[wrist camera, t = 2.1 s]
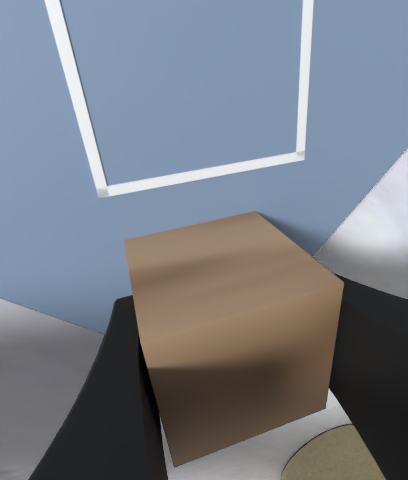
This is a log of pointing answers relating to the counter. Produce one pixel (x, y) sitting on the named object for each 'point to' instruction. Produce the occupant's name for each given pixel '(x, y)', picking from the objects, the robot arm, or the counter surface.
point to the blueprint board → (184, 129)
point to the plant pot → (334, 458)
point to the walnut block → (232, 330)
